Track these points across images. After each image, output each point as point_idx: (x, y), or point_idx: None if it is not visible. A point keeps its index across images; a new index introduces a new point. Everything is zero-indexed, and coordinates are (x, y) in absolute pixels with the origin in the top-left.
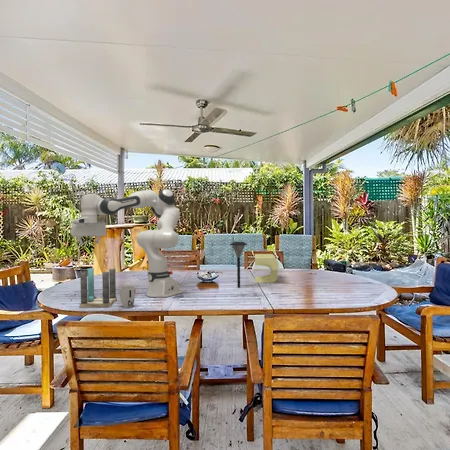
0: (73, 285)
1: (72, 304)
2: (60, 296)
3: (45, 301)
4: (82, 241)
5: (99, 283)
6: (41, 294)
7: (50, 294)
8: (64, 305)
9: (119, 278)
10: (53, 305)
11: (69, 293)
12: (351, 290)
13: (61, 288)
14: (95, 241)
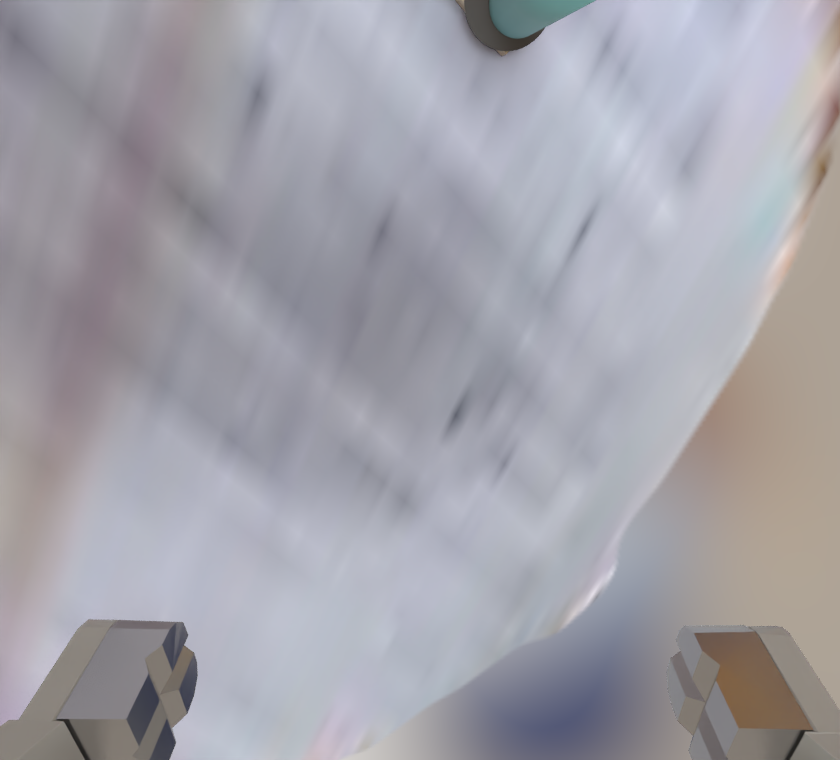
0: (342, 667)
1: (671, 52)
2: (565, 425)
3: (720, 345)
4: (767, 712)
5: None
6: (608, 563)
7: (573, 527)
8: (731, 72)
9: (3, 678)
10: (777, 153)
11: (473, 472)
12: None
13: (437, 637)
14: (166, 735)
